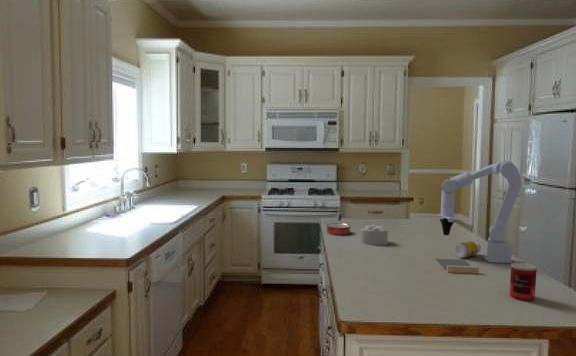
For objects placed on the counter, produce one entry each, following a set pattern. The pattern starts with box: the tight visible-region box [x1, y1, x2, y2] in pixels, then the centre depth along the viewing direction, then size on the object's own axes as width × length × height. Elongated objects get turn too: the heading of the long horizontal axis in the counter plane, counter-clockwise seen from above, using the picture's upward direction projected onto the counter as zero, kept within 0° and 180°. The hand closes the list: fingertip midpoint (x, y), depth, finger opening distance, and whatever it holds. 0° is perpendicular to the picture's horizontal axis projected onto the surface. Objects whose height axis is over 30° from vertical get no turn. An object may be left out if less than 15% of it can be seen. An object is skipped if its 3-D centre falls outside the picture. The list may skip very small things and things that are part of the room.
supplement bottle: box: [453, 240, 482, 259], centre depth 206 cm, size 7×7×13 cm
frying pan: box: [326, 214, 351, 236], centre depth 262 cm, size 32×13×6 cm, turn 177°
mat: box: [436, 258, 480, 274], centre depth 189 cm, size 12×19×2 cm, turn 175°
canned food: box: [509, 262, 538, 302], centre depth 153 cm, size 8×8×11 cm
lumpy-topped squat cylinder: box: [360, 224, 389, 246], centre depth 230 cm, size 10×13×9 cm
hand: (446, 234), depth 207 cm, fingers closed
